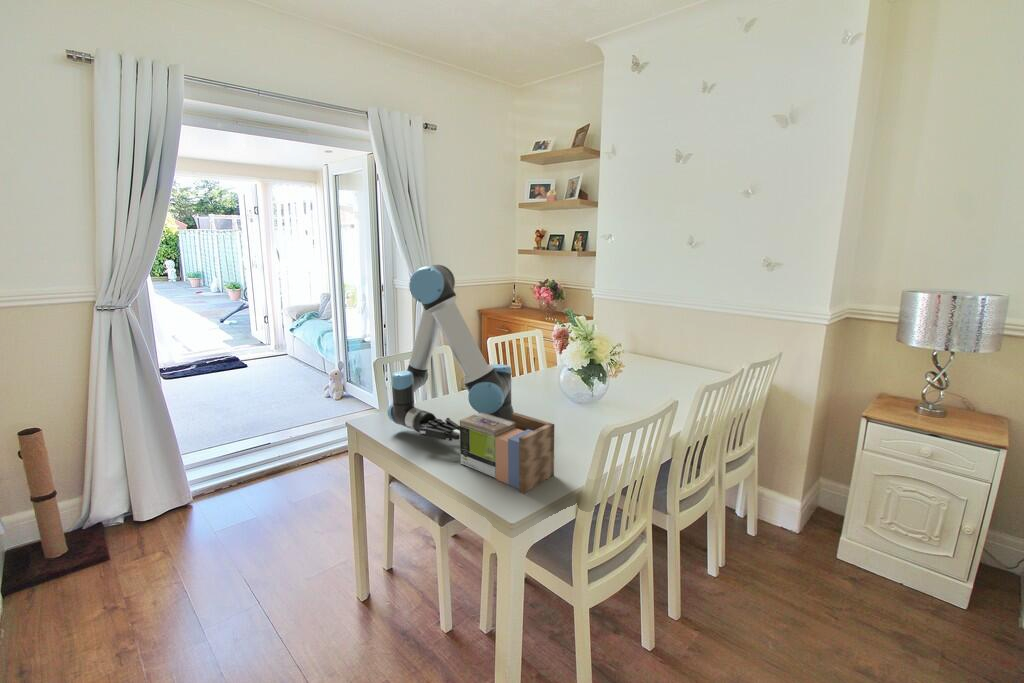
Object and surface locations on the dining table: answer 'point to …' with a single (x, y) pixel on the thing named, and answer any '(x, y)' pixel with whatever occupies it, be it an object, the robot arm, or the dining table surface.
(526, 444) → the shelf
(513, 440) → the blue book
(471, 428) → the tea box
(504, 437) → the rust book
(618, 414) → the dining table surface
